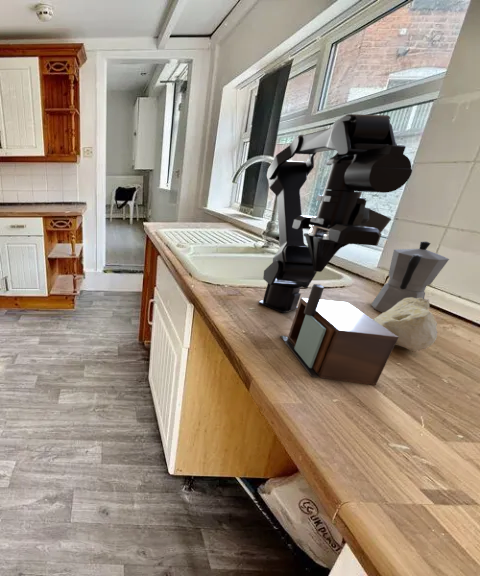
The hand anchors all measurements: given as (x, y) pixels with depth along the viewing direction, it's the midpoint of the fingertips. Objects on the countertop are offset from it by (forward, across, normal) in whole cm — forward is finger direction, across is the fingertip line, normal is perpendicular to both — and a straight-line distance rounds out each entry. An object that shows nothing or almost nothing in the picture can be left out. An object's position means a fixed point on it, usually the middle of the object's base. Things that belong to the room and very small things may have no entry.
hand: (317, 271), depth 62 cm
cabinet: (+13, -12, 0) cm, 18 cm away
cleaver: (+13, -13, +5) cm, 19 cm away
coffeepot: (+13, +16, -28) cm, 35 cm away
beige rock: (+13, 0, -18) cm, 22 cm away
